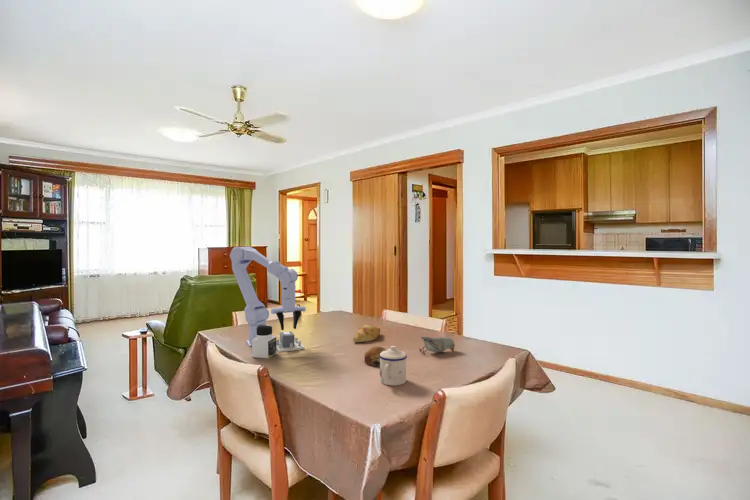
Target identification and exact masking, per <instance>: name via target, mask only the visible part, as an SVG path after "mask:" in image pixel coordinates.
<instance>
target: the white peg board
mask: <svg viewBox="0 0 750 500" xmlns="http://www.w3.org/2000/svg"><path fill="white" fill-rule="evenodd" d="M299 350H305V346H304V345H303V344H302V340H299V338H298V337H295V347H293V343H290V347H286V348H282V343H280V339H276V352H278V353H282V352H291V351H299Z"/></svg>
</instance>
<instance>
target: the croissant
mask: <svg viewBox="0 0 750 500" xmlns="http://www.w3.org/2000/svg"><path fill="white" fill-rule="evenodd" d="M380 334H381V328H380V327H376V326H375V325H373V324H371V323H369V324H365V325H361V326H360V327H358V329H357V331H356V333H355V334H354V336H353V338H352V341H353V342H354V343H363V342H371V341H374V340H376V339H378V337H379V335H380Z"/></svg>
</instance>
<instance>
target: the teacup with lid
mask: <svg viewBox="0 0 750 500" xmlns="http://www.w3.org/2000/svg"><path fill="white" fill-rule="evenodd" d="M379 357H380V366H379V381H380V383H381V384H383V385H386V386H393V387H395V386H402V385H404V384H405V383H406V381H407V358H408V356H407V353H406V352H405V351H402V350H400V349H398V348H397V346H396V345H391V346H390V347H389V348H388V349H387V350H386V351H383V352H381V353H380V355H379Z"/></svg>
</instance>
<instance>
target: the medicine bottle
mask: <svg viewBox="0 0 750 500" xmlns="http://www.w3.org/2000/svg"><path fill="white" fill-rule="evenodd" d="M276 340H277V336H275V335H273V326H271V325H270V324H266V325H260V326H258V327H257V338H255V339H253V340H252V346H251V349H252V350H251V351H252V352H251V357H252V358H257V359H270V358H271V357H273V356H274V355H276V354H277V349H276Z"/></svg>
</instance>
